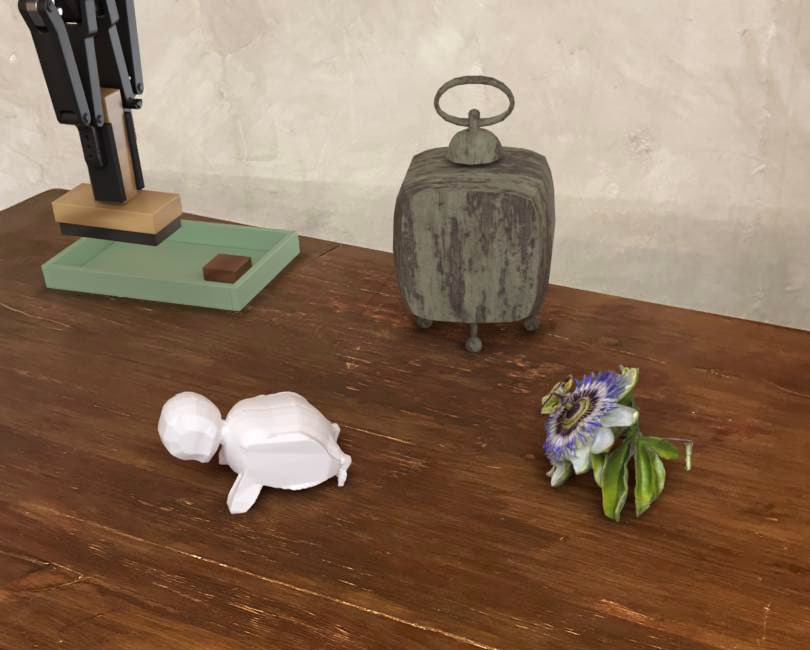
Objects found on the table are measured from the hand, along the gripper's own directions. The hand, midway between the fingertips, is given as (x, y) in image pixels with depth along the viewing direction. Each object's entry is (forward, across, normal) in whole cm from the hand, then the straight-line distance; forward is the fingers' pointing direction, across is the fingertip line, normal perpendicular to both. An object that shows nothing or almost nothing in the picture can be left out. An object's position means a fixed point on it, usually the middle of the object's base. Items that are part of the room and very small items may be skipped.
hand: (120, 193), depth 98 cm
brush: (+4, 0, +1) cm, 4 cm away
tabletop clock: (+18, +13, -28) cm, 36 cm away
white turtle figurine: (+18, -15, -18) cm, 29 cm away
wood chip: (+17, +20, +2) cm, 26 cm away
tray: (+17, +20, +9) cm, 28 cm away
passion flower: (+18, -7, -45) cm, 49 cm away
